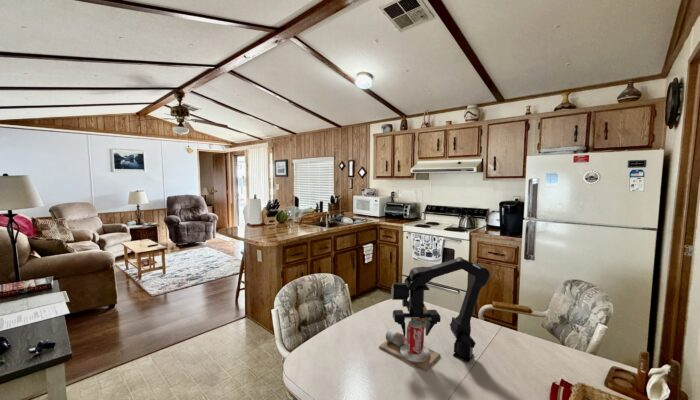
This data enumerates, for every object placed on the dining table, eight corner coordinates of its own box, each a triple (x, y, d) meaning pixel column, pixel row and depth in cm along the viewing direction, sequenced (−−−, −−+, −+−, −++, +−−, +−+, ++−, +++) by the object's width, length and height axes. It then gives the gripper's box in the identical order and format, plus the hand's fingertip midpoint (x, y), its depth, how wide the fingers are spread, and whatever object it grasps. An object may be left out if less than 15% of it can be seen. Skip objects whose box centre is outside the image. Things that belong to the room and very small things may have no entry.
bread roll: (408, 323, 150) (409, 308, 149) (407, 310, 165) (408, 296, 164) (428, 325, 149) (428, 310, 148) (425, 311, 163) (426, 297, 162)
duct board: (440, 356, 124) (440, 342, 123) (425, 371, 114) (425, 356, 113) (395, 335, 138) (396, 323, 138) (379, 347, 129) (379, 334, 128)
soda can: (426, 351, 124) (427, 323, 122) (417, 358, 119) (418, 330, 117) (412, 344, 129) (413, 317, 127) (402, 350, 124) (403, 323, 122)
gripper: (432, 291, 130) (431, 325, 131) (390, 291, 129) (389, 325, 131) (441, 302, 119) (440, 339, 120) (395, 302, 118) (394, 340, 120)
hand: (415, 335), depth 123 cm, fingers open, 9 cm apart
